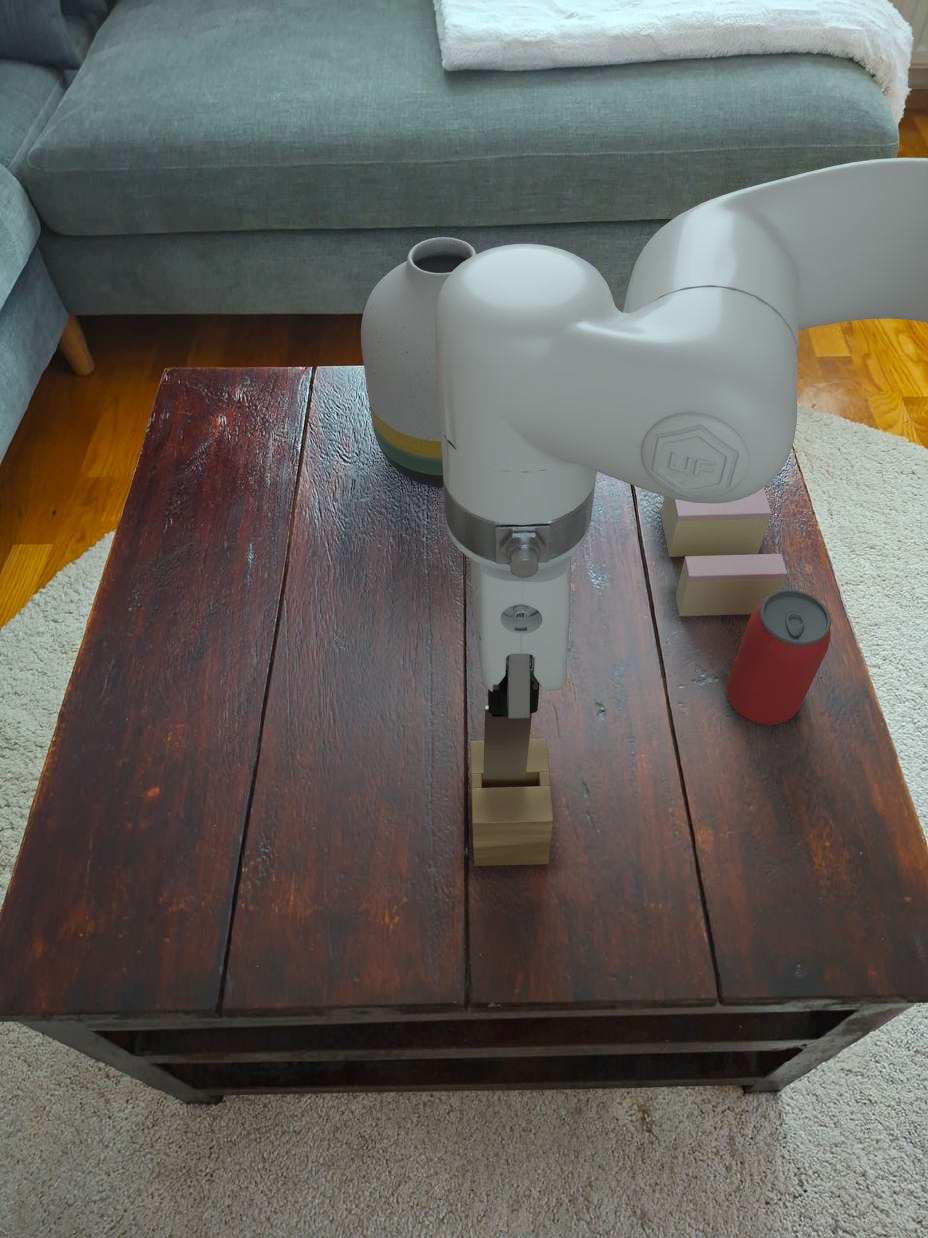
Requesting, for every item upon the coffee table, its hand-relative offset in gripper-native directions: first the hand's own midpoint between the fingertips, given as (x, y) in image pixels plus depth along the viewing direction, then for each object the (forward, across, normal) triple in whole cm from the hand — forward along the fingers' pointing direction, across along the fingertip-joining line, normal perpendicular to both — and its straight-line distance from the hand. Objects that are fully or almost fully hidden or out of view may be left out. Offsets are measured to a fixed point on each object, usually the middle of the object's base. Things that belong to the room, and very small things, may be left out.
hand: (511, 693), depth 62 cm
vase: (+20, +46, +4) cm, 50 cm away
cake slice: (+20, +22, -22) cm, 37 cm away
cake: (+20, +32, -22) cm, 44 cm away
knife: (+12, 0, 0) cm, 12 cm away
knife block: (+20, 0, 0) cm, 20 cm away
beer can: (+20, +12, -24) cm, 33 cm away
